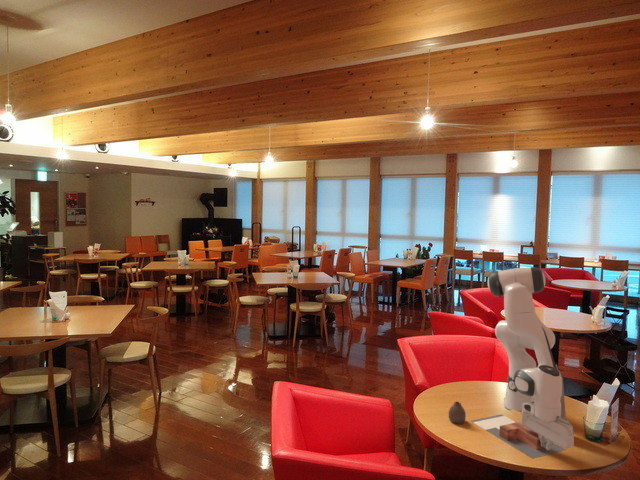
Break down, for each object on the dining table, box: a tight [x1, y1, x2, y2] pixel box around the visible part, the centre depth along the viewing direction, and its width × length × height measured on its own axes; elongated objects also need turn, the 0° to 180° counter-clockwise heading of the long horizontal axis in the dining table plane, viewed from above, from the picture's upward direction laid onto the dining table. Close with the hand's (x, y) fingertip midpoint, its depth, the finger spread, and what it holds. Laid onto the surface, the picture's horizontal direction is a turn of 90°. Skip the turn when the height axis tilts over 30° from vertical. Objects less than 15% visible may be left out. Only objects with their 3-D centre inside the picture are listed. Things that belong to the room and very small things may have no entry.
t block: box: [499, 420, 545, 450], centre depth 176 cm, size 14×13×4 cm
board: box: [471, 414, 567, 459], centre depth 181 cm, size 17×32×1 cm, turn 23°
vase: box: [448, 401, 467, 425], centre depth 191 cm, size 7×7×9 cm
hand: (545, 448), depth 168 cm, fingers closed
